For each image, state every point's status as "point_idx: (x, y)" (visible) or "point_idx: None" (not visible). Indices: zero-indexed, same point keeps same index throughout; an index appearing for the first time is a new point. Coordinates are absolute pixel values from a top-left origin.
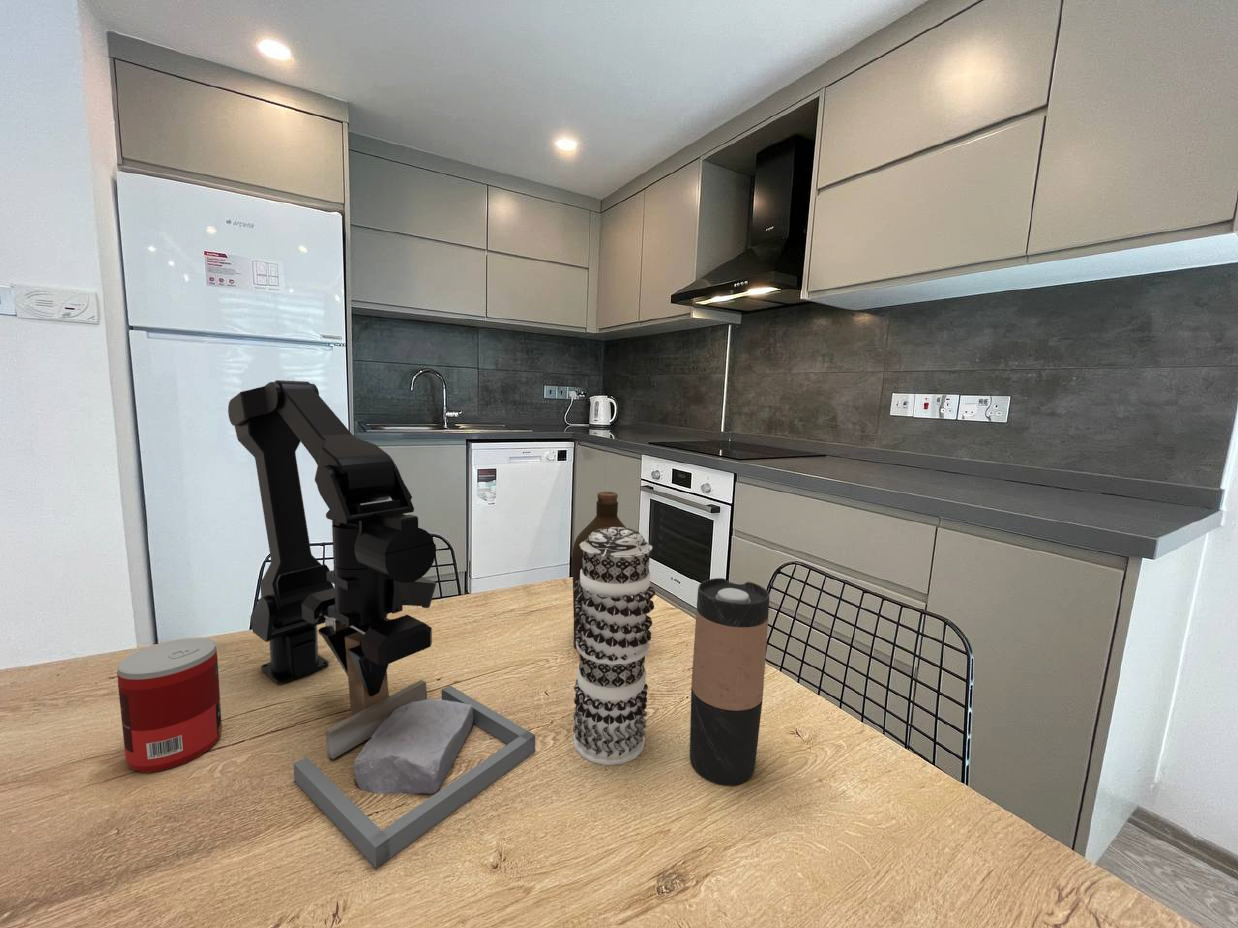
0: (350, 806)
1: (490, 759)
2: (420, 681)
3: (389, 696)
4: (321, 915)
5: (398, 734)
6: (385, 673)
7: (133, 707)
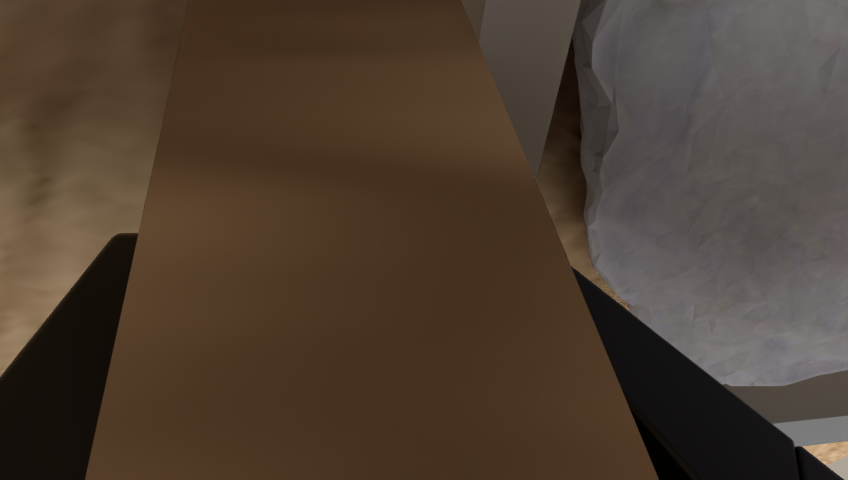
0: (808, 427)
1: None
2: None
3: (485, 39)
4: (844, 454)
5: (843, 227)
6: (712, 378)
7: None
